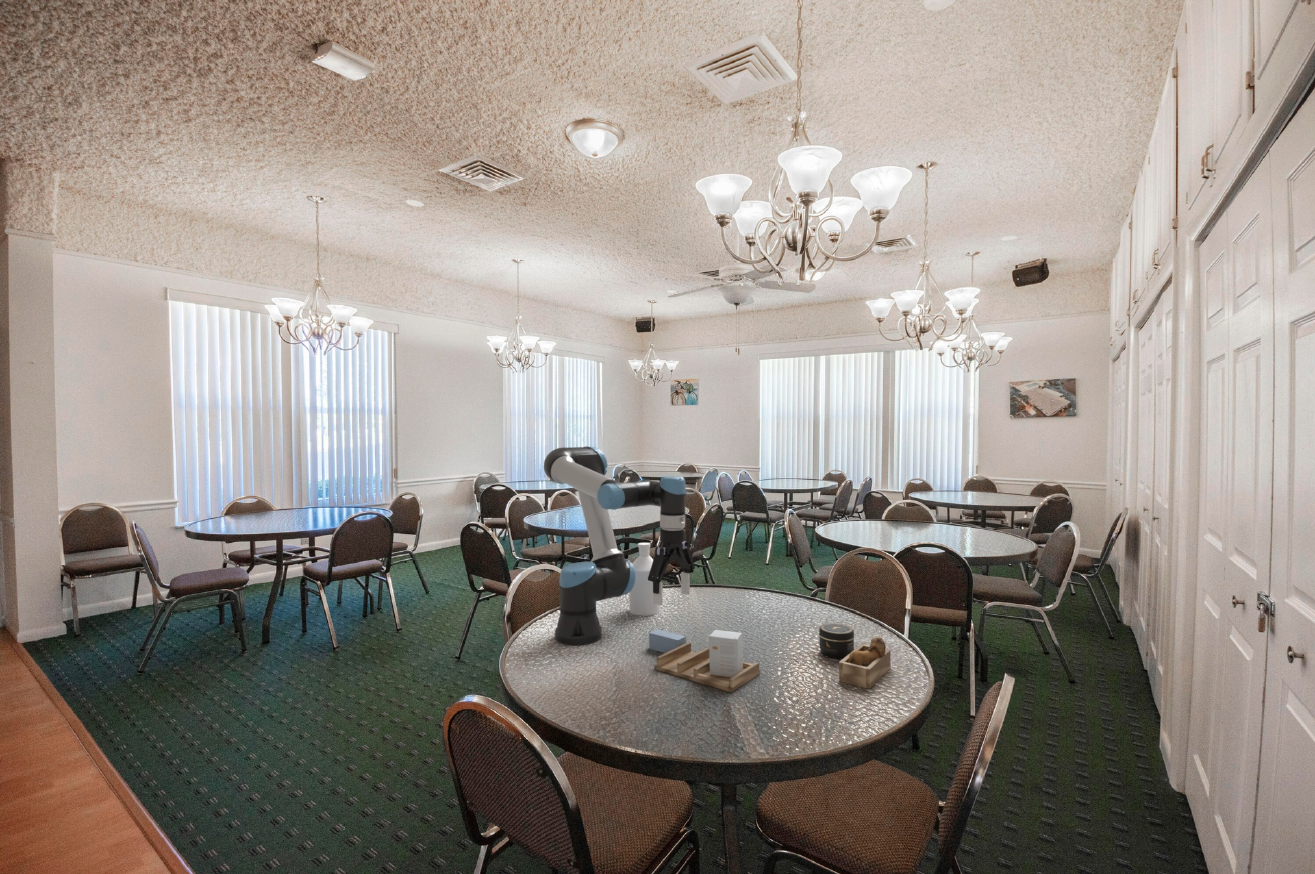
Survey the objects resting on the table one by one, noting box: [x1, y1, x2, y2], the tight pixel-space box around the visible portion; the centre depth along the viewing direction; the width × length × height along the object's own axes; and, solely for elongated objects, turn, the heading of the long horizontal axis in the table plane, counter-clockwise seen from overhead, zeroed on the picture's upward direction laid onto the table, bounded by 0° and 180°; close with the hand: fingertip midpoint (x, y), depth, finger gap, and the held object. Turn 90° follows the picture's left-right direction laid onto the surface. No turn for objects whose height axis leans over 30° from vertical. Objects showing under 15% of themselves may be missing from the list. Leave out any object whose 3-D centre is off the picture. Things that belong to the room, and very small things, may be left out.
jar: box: [818, 622, 855, 660], centre depth 175 cm, size 10×10×8 cm
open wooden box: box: [838, 643, 892, 690], centre depth 159 cm, size 8×17×5 cm, turn 142°
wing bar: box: [648, 629, 687, 654], centre depth 179 cm, size 4×11×5 cm, turn 52°
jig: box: [654, 641, 761, 693], centre depth 163 cm, size 25×15×4 cm, turn 52°
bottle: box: [628, 542, 661, 617], centre depth 219 cm, size 12×12×25 cm
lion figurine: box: [848, 636, 887, 667], centre depth 159 cm, size 15×5×9 cm, turn 122°
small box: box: [708, 629, 744, 678], centre depth 159 cm, size 8×6×10 cm
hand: (672, 598), depth 177 cm, fingers open, 13 cm apart
